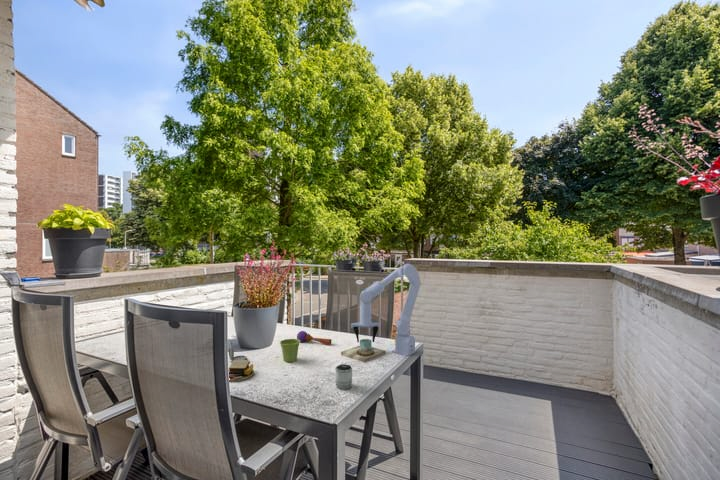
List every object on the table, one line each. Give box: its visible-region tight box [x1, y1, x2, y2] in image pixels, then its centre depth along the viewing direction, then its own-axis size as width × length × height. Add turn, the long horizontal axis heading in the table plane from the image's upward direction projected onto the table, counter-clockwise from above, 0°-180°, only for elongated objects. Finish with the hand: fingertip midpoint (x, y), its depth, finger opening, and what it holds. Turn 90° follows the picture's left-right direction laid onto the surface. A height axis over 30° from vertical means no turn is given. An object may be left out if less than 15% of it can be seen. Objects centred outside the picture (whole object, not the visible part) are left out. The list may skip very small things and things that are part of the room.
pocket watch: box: [228, 339, 248, 362], centre depth 160 cm, size 8×8×10 cm
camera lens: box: [335, 363, 353, 391], centre depth 132 cm, size 6×6×8 cm
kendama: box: [296, 330, 333, 346], centre depth 188 cm, size 6×6×20 cm
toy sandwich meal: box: [228, 359, 255, 382], centre depth 142 cm, size 12×14×5 cm
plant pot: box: [279, 338, 301, 363], centre depth 161 cm, size 9×9×9 cm
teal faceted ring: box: [359, 338, 373, 349], centre depth 173 cm, size 6×6×4 cm
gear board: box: [340, 340, 387, 363], centre depth 169 cm, size 15×16×6 cm
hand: (365, 341), depth 173 cm, fingers open, 7 cm apart
